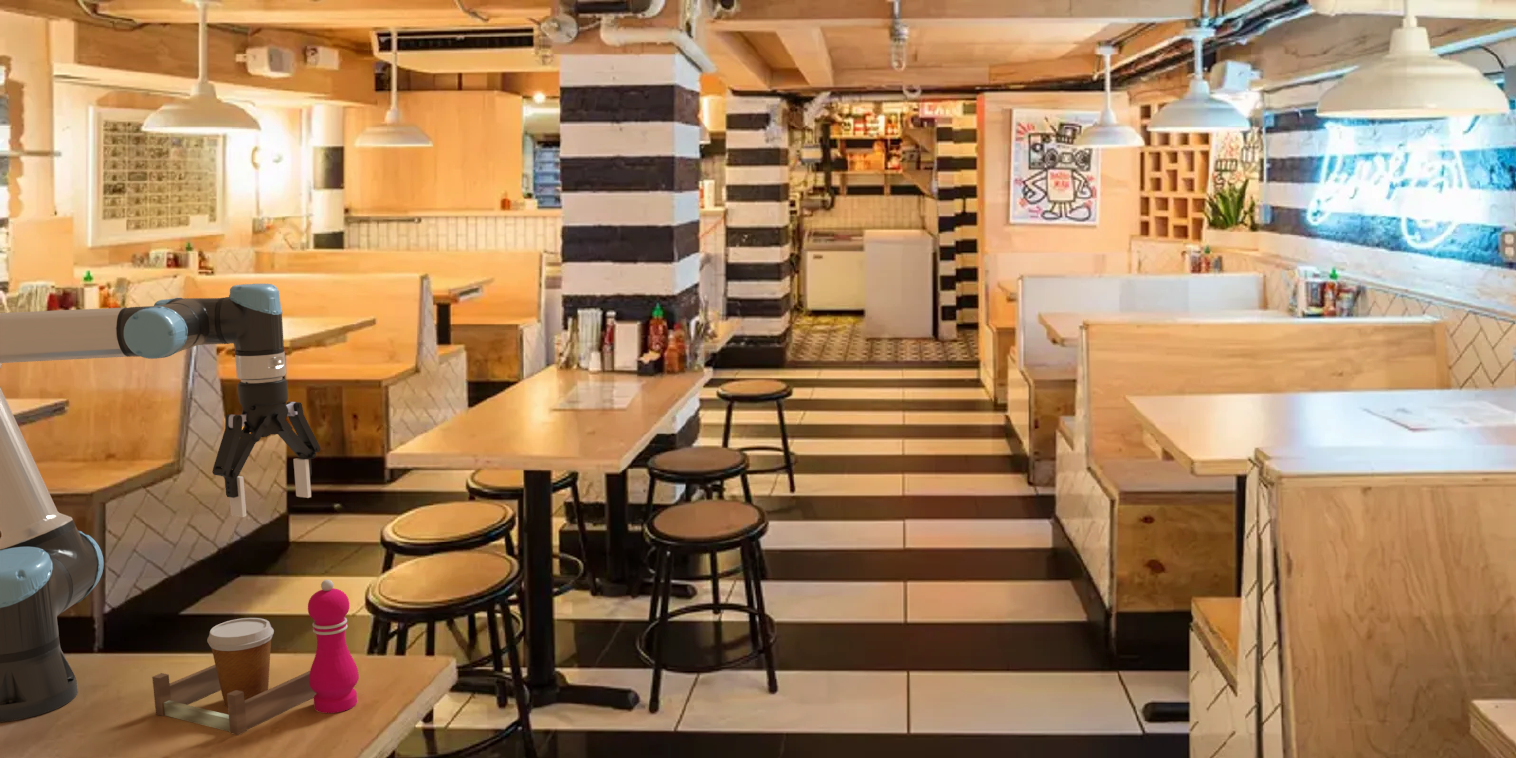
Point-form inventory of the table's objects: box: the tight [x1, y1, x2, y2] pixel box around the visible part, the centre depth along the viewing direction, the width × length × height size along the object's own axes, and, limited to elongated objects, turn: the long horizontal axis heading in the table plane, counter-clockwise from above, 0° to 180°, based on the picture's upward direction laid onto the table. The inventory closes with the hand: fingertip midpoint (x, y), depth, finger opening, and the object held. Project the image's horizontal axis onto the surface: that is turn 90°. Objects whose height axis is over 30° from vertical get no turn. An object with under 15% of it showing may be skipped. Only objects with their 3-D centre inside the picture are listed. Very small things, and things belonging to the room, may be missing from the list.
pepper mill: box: [307, 579, 360, 714], centre depth 192 cm, size 7×7×20 cm
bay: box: [151, 664, 317, 736], centre depth 196 cm, size 18×20×6 cm
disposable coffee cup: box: [206, 617, 275, 709], centre depth 195 cm, size 10×10×12 cm
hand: (272, 506), depth 208 cm, fingers open, 13 cm apart
